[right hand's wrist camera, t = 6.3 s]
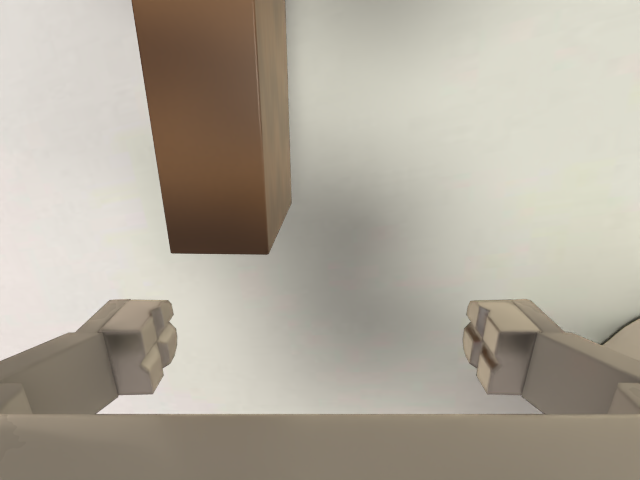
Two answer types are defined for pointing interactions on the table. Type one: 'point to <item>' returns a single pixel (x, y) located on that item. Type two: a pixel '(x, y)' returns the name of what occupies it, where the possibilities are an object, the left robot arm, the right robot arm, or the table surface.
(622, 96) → the table surface
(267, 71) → the bar
